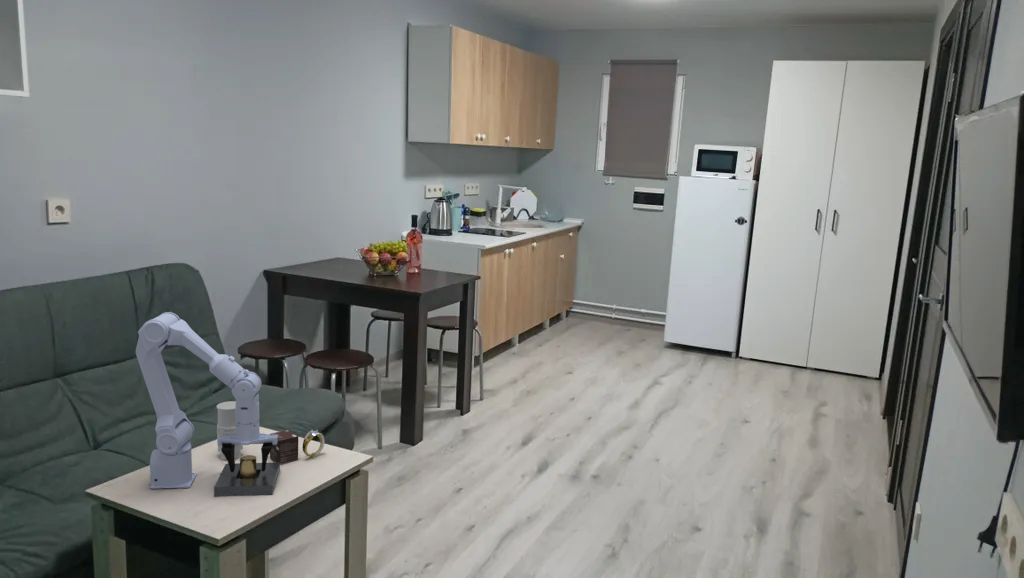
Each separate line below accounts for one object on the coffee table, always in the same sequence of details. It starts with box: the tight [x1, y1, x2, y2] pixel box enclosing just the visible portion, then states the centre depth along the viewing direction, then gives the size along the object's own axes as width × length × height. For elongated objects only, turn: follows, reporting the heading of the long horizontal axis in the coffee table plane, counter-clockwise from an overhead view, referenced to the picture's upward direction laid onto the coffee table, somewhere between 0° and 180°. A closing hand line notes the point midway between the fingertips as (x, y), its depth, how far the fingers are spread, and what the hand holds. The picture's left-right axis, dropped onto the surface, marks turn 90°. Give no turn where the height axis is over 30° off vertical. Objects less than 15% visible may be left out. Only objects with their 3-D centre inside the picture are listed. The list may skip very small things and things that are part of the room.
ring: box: [302, 429, 325, 458], centre depth 205 cm, size 7×3×8 cm, turn 140°
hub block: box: [213, 461, 281, 497], centre depth 187 cm, size 14×14×2 cm
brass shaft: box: [239, 454, 257, 479], centre depth 186 cm, size 4×4×7 cm
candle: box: [216, 400, 244, 461], centre depth 202 cm, size 7×7×15 cm
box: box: [269, 429, 300, 465], centre depth 202 cm, size 6×6×7 cm
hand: (248, 470), depth 187 cm, fingers open, 7 cm apart
